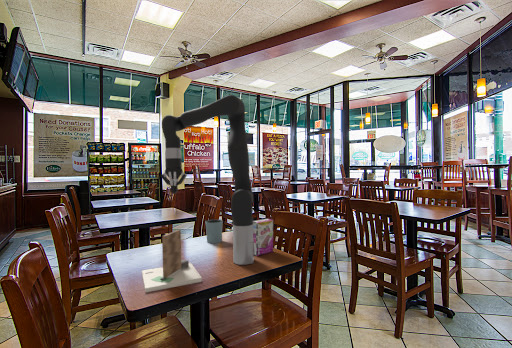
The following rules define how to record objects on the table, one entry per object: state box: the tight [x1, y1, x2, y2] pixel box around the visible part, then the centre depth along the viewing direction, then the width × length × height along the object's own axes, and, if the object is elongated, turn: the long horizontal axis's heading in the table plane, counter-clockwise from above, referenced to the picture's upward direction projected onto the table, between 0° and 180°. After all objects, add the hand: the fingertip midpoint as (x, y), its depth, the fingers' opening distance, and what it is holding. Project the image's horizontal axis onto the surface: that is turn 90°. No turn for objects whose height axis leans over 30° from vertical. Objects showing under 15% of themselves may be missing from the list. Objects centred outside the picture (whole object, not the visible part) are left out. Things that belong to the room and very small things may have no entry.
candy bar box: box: [253, 218, 274, 257], centre depth 141 cm, size 11×5×16 cm, turn 131°
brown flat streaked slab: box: [160, 229, 190, 280], centre depth 112 cm, size 17×4×16 cm, turn 163°
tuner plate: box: [141, 262, 203, 294], centre depth 111 cm, size 20×18×2 cm
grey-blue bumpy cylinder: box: [205, 219, 224, 245], centre depth 163 cm, size 10×10×12 cm
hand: (174, 193), depth 136 cm, fingers closed
